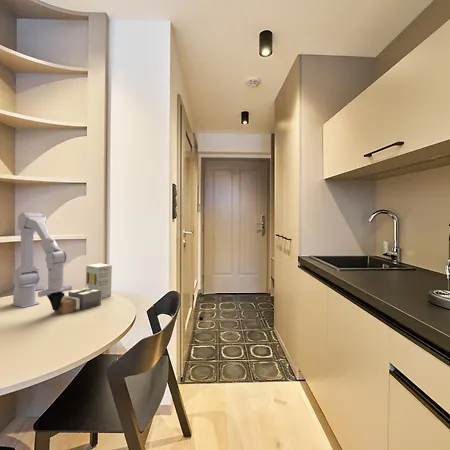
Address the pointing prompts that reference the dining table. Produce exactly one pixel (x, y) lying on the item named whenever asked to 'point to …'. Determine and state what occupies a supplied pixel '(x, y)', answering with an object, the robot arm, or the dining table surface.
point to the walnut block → (65, 306)
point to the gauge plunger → (75, 299)
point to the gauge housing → (87, 297)
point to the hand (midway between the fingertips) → (55, 309)
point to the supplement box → (99, 278)
